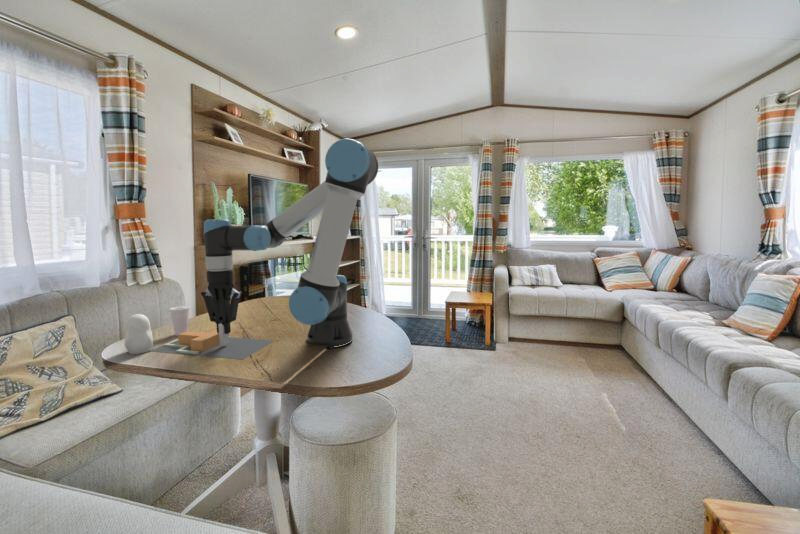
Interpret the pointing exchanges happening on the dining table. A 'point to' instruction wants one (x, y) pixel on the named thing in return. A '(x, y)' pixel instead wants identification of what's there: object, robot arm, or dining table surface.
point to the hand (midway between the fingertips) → (224, 343)
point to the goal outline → (182, 347)
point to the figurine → (138, 334)
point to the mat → (224, 348)
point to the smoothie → (180, 318)
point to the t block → (199, 340)
